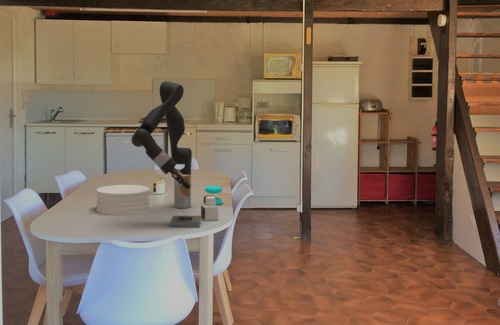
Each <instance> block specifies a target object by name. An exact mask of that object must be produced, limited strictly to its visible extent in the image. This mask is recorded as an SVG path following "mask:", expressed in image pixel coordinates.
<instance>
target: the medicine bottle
mask: <svg viewBox="0 0 500 325" xmlns="http://www.w3.org/2000/svg"><path fill="white" fill-rule="evenodd" d="M216 197H217V196H215V195H212V194H211V195H209V194H208V195H205V196H204V197H203V204H201V205H200V216H201V219H202V220H203V221H205V222H208V221H209V220H213V221H218V220H219V205H215V204H216ZM209 222H210V221H209Z"/></svg>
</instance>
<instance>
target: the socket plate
mask: <svg viewBox="0 0 500 325" xmlns="http://www.w3.org/2000/svg"><path fill="white" fill-rule="evenodd" d="M201 219H202V218H201V215H172V216H171V219H170V220H169V221H170V222H169V228H200V226H201V222H200V221H202V220H201Z"/></svg>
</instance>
